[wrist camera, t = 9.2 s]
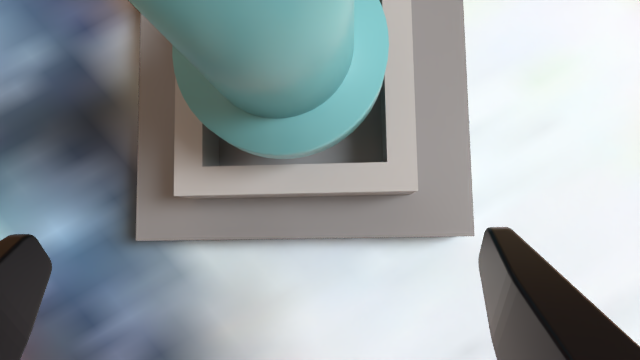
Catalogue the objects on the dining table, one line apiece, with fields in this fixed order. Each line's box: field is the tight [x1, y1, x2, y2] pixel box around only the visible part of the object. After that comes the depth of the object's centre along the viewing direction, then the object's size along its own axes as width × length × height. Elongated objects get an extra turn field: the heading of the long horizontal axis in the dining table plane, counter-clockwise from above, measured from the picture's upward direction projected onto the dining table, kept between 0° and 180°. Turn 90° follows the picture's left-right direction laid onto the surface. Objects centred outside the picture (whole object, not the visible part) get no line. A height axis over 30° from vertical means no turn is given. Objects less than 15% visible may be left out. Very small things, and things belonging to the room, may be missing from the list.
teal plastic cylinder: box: [128, 0, 389, 159], centre depth 11 cm, size 6×6×14 cm
